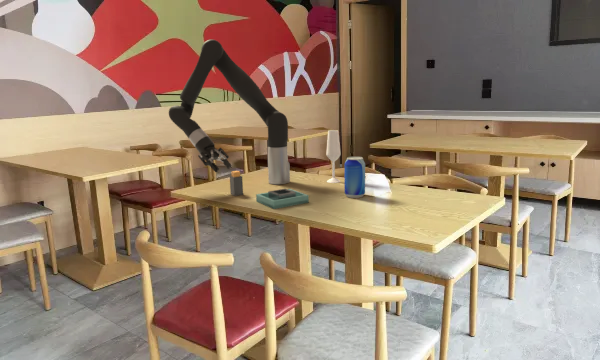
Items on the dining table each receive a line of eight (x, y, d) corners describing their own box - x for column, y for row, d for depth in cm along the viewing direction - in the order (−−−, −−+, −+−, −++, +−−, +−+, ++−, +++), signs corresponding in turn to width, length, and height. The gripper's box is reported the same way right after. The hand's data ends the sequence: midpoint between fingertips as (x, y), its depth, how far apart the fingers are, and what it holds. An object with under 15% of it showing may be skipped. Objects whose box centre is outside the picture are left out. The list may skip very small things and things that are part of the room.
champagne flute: (339, 183, 227) (339, 131, 222) (325, 182, 228) (325, 131, 223) (341, 180, 233) (341, 129, 228) (327, 179, 235) (327, 129, 230)
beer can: (341, 197, 201) (341, 159, 198) (349, 192, 208) (349, 155, 205) (360, 199, 197) (360, 160, 194) (367, 194, 204) (368, 156, 201)
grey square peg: (239, 192, 212) (237, 170, 210) (243, 194, 209) (242, 171, 207) (230, 194, 210) (229, 171, 208) (234, 196, 207) (233, 172, 205)
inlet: (285, 195, 201) (285, 188, 200) (296, 199, 194) (295, 192, 194) (268, 198, 197) (268, 191, 196) (278, 202, 190) (278, 195, 189)
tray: (290, 195, 206) (289, 188, 205) (308, 202, 194) (308, 195, 193) (256, 201, 197) (256, 194, 196) (273, 209, 186) (273, 201, 185)
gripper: (194, 137, 206) (218, 166, 203) (216, 133, 218) (238, 160, 215) (186, 149, 209) (208, 177, 206) (207, 145, 222) (229, 171, 218)
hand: (223, 169), depth 211 cm, fingers open, 8 cm apart
